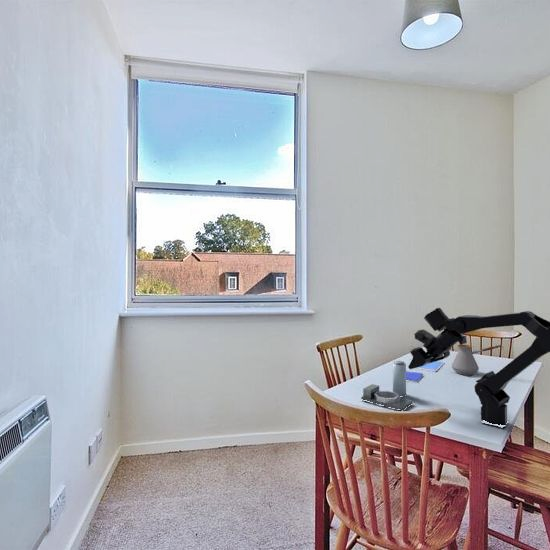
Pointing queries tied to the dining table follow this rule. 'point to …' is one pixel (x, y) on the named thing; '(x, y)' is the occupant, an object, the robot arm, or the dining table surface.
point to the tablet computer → (431, 366)
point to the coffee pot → (467, 360)
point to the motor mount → (385, 397)
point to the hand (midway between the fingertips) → (415, 365)
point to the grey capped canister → (399, 378)
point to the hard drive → (413, 376)
